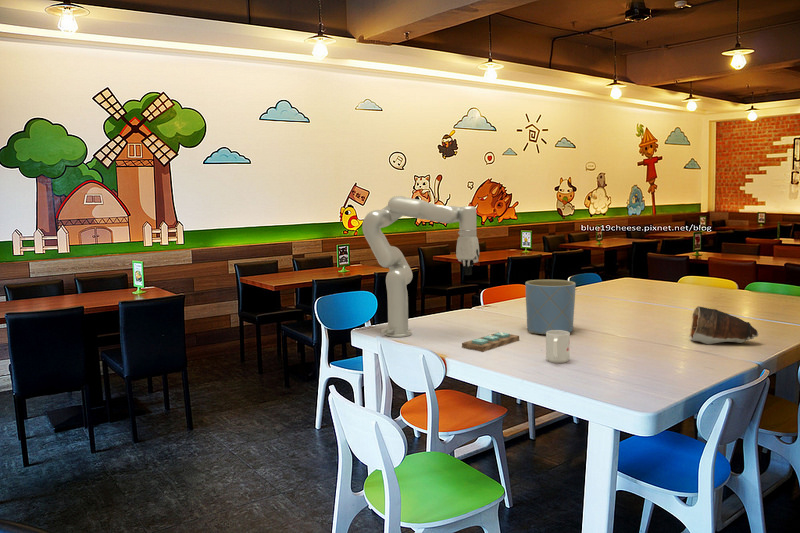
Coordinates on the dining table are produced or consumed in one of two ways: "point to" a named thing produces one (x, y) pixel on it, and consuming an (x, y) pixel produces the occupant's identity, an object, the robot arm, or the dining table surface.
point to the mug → (557, 346)
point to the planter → (550, 305)
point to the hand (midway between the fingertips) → (468, 274)
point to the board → (490, 343)
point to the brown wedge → (719, 327)
